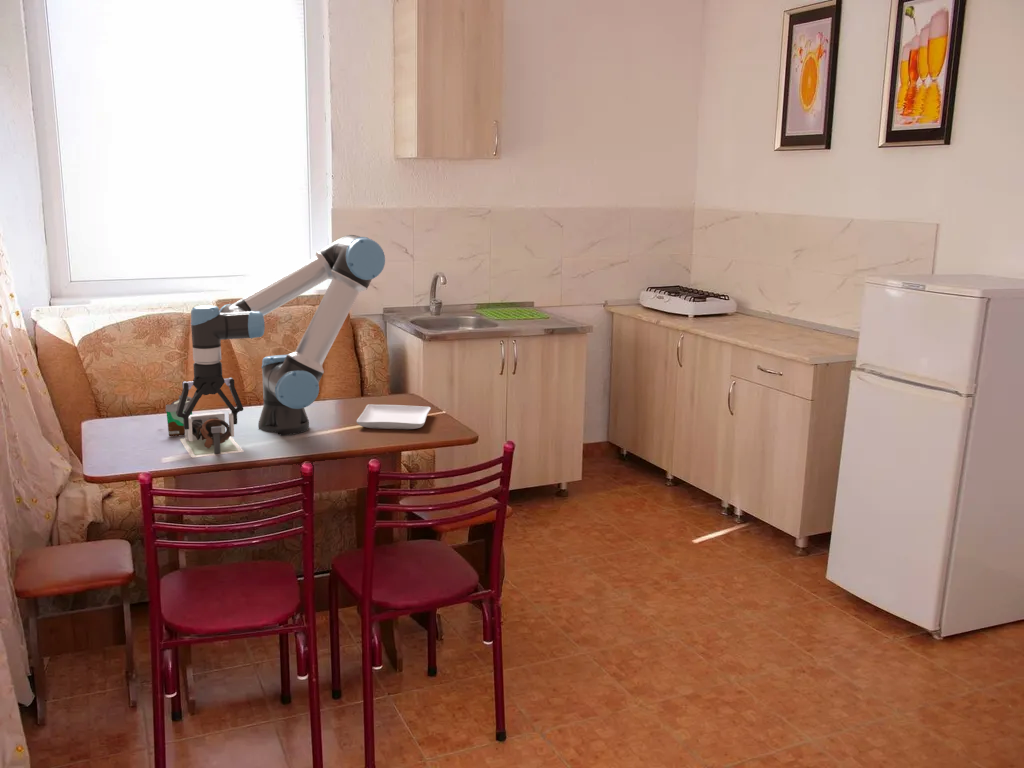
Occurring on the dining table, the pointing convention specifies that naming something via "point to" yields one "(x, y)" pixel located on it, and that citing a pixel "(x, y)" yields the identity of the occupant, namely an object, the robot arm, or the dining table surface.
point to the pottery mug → (206, 432)
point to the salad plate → (393, 416)
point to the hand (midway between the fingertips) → (211, 437)
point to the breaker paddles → (201, 420)
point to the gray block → (216, 438)
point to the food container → (176, 418)
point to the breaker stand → (211, 437)
